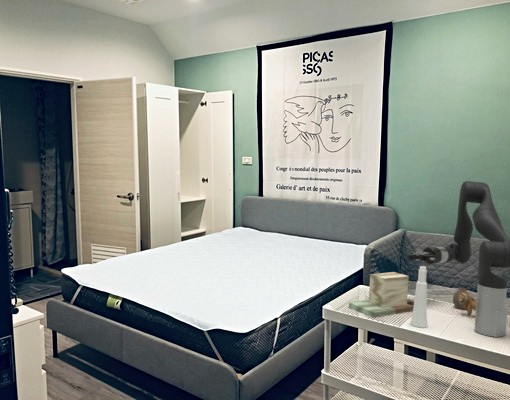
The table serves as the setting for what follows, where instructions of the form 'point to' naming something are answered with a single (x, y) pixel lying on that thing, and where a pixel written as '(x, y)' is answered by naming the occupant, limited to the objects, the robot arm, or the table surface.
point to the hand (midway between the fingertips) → (408, 257)
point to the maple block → (388, 289)
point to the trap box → (378, 311)
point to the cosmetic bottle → (420, 300)
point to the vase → (456, 297)
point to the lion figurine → (467, 302)
